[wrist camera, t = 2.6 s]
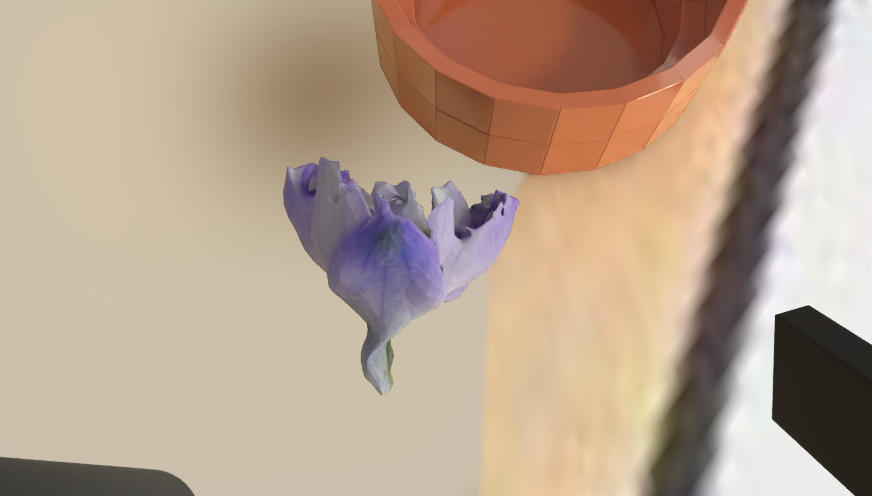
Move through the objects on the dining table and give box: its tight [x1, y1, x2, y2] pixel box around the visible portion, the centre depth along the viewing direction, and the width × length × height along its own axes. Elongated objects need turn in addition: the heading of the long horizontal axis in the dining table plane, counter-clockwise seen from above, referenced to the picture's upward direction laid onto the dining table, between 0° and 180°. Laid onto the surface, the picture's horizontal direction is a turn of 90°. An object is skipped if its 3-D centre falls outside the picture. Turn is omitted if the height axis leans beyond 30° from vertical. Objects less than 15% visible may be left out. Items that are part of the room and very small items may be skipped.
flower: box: [283, 157, 520, 395], centre depth 25 cm, size 9×9×10 cm
